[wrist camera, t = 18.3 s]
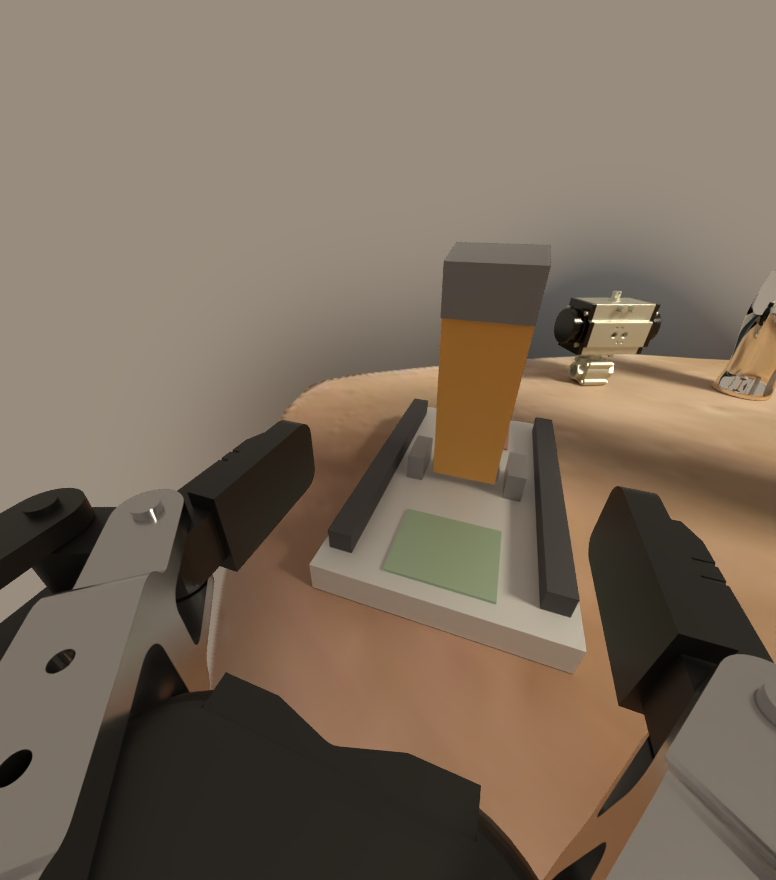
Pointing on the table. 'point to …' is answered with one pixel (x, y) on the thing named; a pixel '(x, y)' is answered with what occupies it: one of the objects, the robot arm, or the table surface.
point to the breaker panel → (458, 555)
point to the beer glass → (754, 350)
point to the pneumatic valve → (604, 333)
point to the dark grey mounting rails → (549, 503)
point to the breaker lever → (484, 351)
